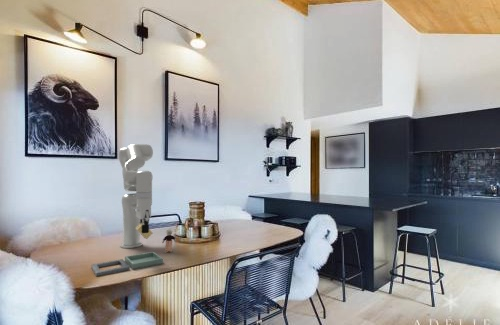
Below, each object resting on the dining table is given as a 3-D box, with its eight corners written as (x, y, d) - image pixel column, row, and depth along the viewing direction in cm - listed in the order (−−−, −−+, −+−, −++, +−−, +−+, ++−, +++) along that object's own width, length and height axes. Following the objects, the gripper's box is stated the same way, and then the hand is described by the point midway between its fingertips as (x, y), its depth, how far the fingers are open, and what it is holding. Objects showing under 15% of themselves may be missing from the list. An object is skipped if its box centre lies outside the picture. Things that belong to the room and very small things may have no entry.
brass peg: (144, 237, 151) (135, 228, 149) (150, 231, 153) (141, 222, 151) (146, 239, 148) (137, 229, 145) (152, 233, 150) (143, 223, 147)
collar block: (91, 267, 142) (91, 264, 142) (122, 262, 150) (122, 259, 150) (96, 276, 130) (96, 273, 130) (129, 269, 138) (129, 266, 138)
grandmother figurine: (163, 253, 165) (164, 230, 165) (161, 251, 168) (161, 229, 168) (177, 251, 169) (177, 228, 169) (174, 249, 172) (174, 227, 172)
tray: (124, 261, 151) (124, 256, 151) (153, 256, 159) (153, 251, 159) (132, 269, 139) (132, 264, 139) (163, 263, 148) (163, 258, 148)
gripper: (131, 194, 154) (131, 230, 154) (141, 197, 141) (141, 236, 140) (146, 194, 159) (146, 228, 158) (157, 196, 145) (156, 234, 145)
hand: (143, 231), depth 149 cm, fingers closed on brass peg, 3 cm apart
